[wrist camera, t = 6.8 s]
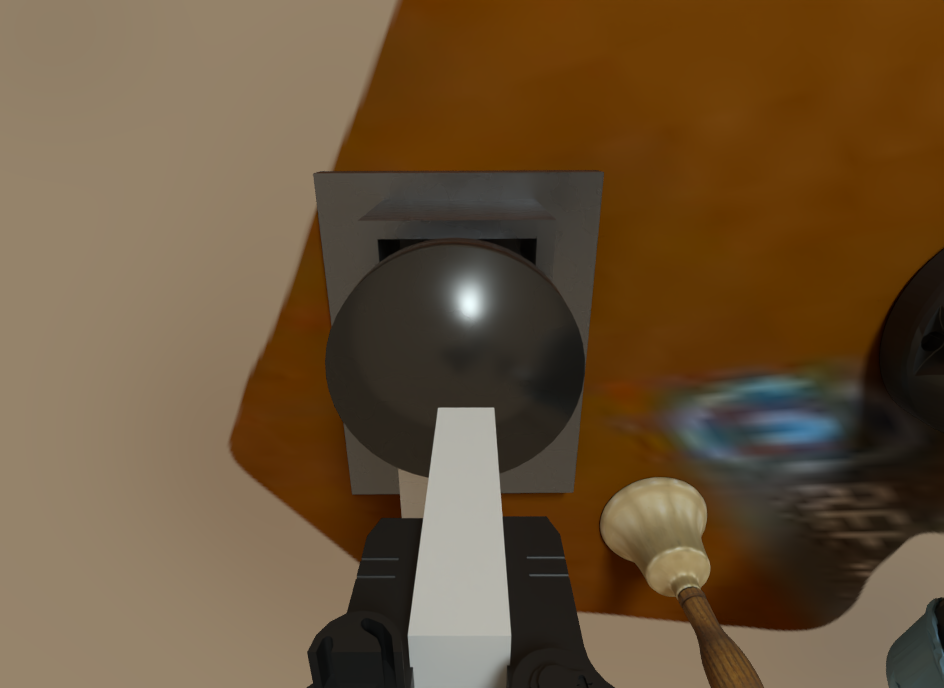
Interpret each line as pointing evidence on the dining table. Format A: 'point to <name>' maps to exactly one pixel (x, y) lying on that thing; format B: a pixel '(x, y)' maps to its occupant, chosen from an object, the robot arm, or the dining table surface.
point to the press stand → (476, 217)
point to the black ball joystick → (453, 355)
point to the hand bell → (675, 564)
